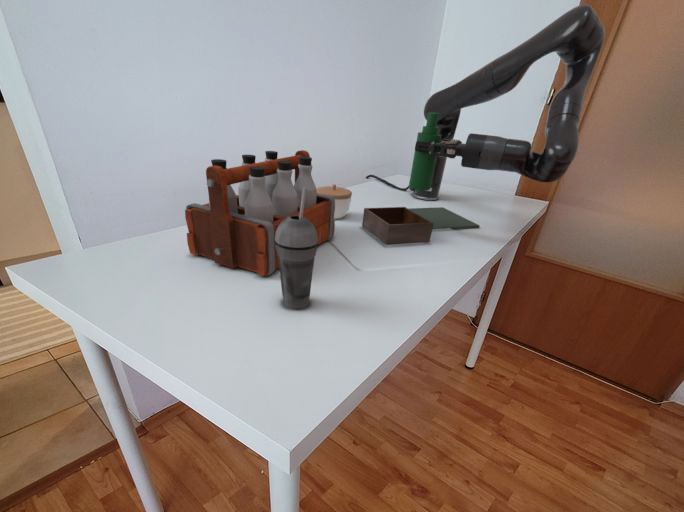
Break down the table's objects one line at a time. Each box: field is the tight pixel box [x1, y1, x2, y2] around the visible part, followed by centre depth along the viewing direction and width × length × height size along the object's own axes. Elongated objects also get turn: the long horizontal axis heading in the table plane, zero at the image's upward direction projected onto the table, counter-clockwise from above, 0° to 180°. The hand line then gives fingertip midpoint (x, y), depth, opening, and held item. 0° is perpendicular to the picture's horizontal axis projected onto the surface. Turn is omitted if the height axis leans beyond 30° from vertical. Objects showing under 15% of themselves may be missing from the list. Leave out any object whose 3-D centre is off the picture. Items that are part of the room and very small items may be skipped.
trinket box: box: [316, 184, 353, 220], centre depth 108 cm, size 11×11×9 cm
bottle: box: [408, 113, 441, 190], centre depth 96 cm, size 6×6×18 cm
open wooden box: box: [361, 206, 434, 246], centre depth 100 cm, size 15×13×6 cm
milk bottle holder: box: [184, 150, 336, 277], centre depth 83 cm, size 21×35×19 cm, turn 152°
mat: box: [409, 206, 480, 230], centre depth 117 cm, size 20×18×1 cm
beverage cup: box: [274, 187, 319, 310], centre depth 61 cm, size 7×7×20 cm
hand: (418, 144), depth 95 cm, fingers closed on bottle, 6 cm apart
